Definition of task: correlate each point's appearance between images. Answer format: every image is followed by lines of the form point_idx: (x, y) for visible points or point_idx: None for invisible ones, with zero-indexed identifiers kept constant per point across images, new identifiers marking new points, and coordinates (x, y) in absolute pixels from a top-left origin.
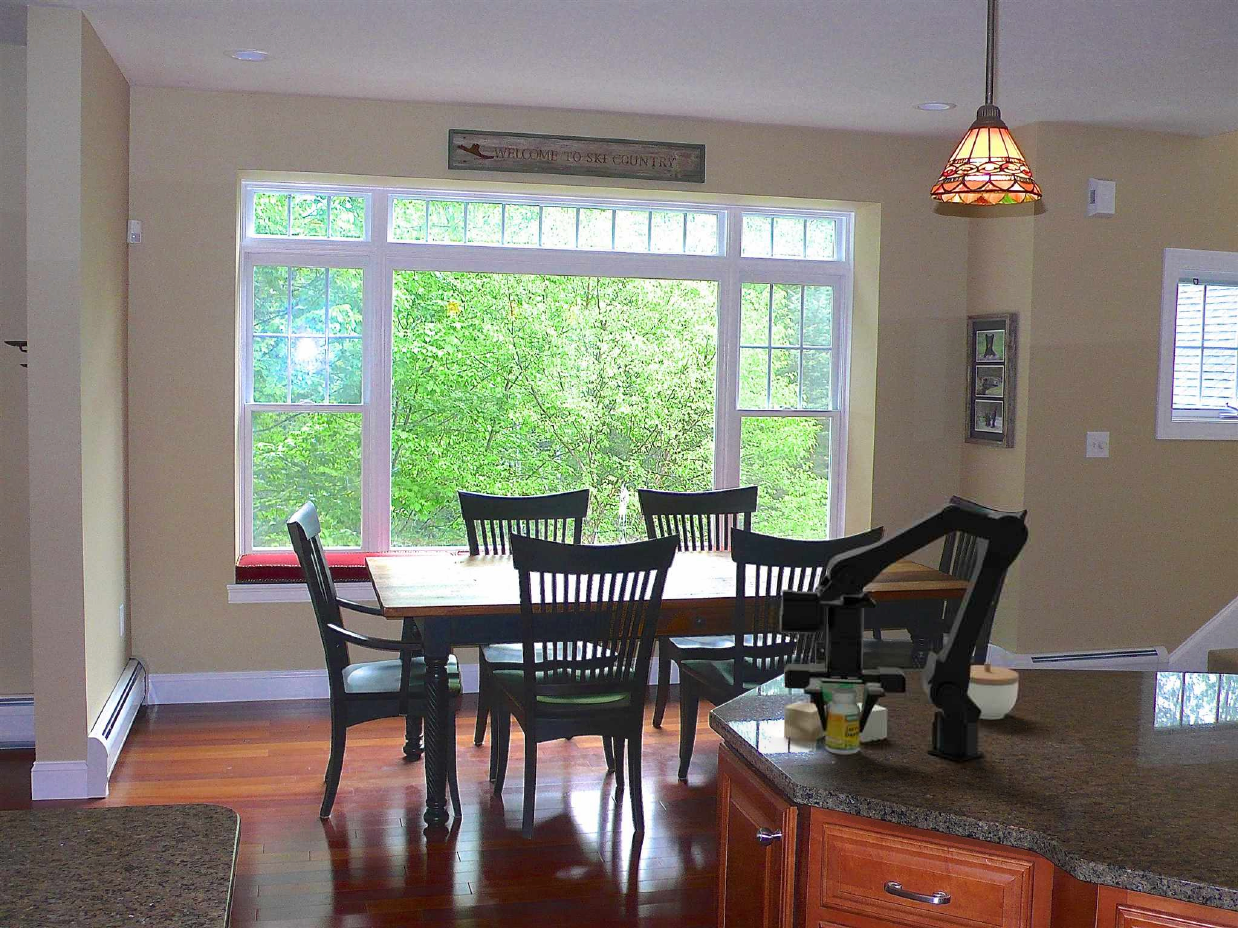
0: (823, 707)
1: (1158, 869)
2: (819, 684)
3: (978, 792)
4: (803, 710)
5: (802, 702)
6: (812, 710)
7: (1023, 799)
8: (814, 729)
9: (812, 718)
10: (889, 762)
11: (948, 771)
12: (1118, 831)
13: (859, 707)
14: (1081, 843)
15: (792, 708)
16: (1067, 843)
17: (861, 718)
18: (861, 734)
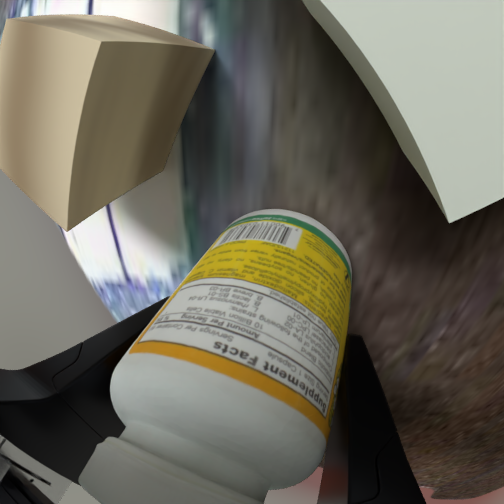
0: (124, 429)
1: (461, 497)
2: (59, 497)
3: (464, 453)
4: (35, 197)
5: (13, 34)
6: (58, 187)
7: (495, 456)
8: (140, 161)
9: (93, 208)
10: (408, 374)
11: (498, 405)
12: (498, 476)
13: (312, 472)
14: (450, 491)
15: (5, 168)
16: (439, 492)
17: (329, 434)
18: (403, 149)
